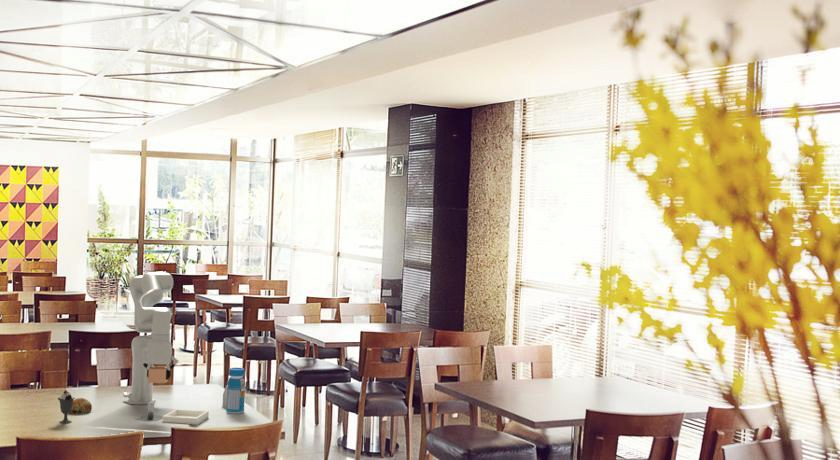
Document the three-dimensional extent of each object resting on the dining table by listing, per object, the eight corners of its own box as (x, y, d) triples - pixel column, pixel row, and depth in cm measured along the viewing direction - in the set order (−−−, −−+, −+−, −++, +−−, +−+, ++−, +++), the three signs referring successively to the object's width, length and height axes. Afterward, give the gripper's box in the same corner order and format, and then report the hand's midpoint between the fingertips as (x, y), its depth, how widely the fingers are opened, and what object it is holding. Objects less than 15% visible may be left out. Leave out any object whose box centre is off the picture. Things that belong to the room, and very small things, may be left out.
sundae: (59, 420, 346) (61, 384, 346) (76, 420, 347) (77, 385, 347) (54, 424, 339) (55, 387, 340) (70, 424, 340) (72, 388, 340)
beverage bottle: (228, 414, 370) (230, 370, 370) (223, 410, 378) (225, 367, 378) (246, 413, 374) (248, 369, 374) (241, 409, 381) (243, 366, 382)
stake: (134, 421, 350) (135, 404, 350) (144, 416, 360) (144, 399, 360) (156, 422, 349) (157, 405, 349) (166, 417, 359) (166, 401, 359)
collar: (148, 382, 351) (148, 368, 351) (152, 379, 358) (152, 366, 358) (164, 383, 351) (165, 369, 351) (168, 380, 358) (169, 366, 358)
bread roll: (93, 420, 364) (99, 402, 368) (78, 414, 356) (85, 396, 359) (75, 417, 368) (81, 400, 371) (60, 411, 359) (67, 393, 362)
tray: (162, 423, 348) (162, 416, 348) (175, 415, 363) (175, 409, 363) (196, 425, 347) (196, 418, 347) (208, 417, 362) (208, 411, 362)
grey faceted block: (233, 409, 382) (234, 387, 382) (222, 407, 385) (223, 385, 385) (238, 407, 385) (239, 386, 385) (227, 405, 388) (228, 384, 388)
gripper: (137, 338, 350) (135, 379, 350) (179, 339, 352) (177, 381, 351) (142, 336, 358) (140, 376, 358) (182, 337, 359) (180, 378, 359)
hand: (158, 378), depth 355 cm, fingers closed on collar, 7 cm apart
